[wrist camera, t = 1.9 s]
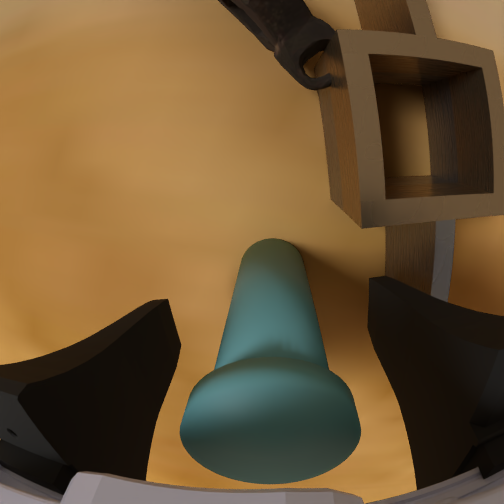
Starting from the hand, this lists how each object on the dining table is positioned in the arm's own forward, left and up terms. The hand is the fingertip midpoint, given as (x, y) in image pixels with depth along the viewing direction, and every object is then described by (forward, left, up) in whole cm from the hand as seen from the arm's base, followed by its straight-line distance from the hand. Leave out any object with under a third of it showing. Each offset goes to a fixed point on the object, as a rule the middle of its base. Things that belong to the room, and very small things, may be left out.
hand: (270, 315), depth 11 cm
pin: (0, 0, -4) cm, 4 cm away
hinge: (+6, -6, -4) cm, 10 cm away
